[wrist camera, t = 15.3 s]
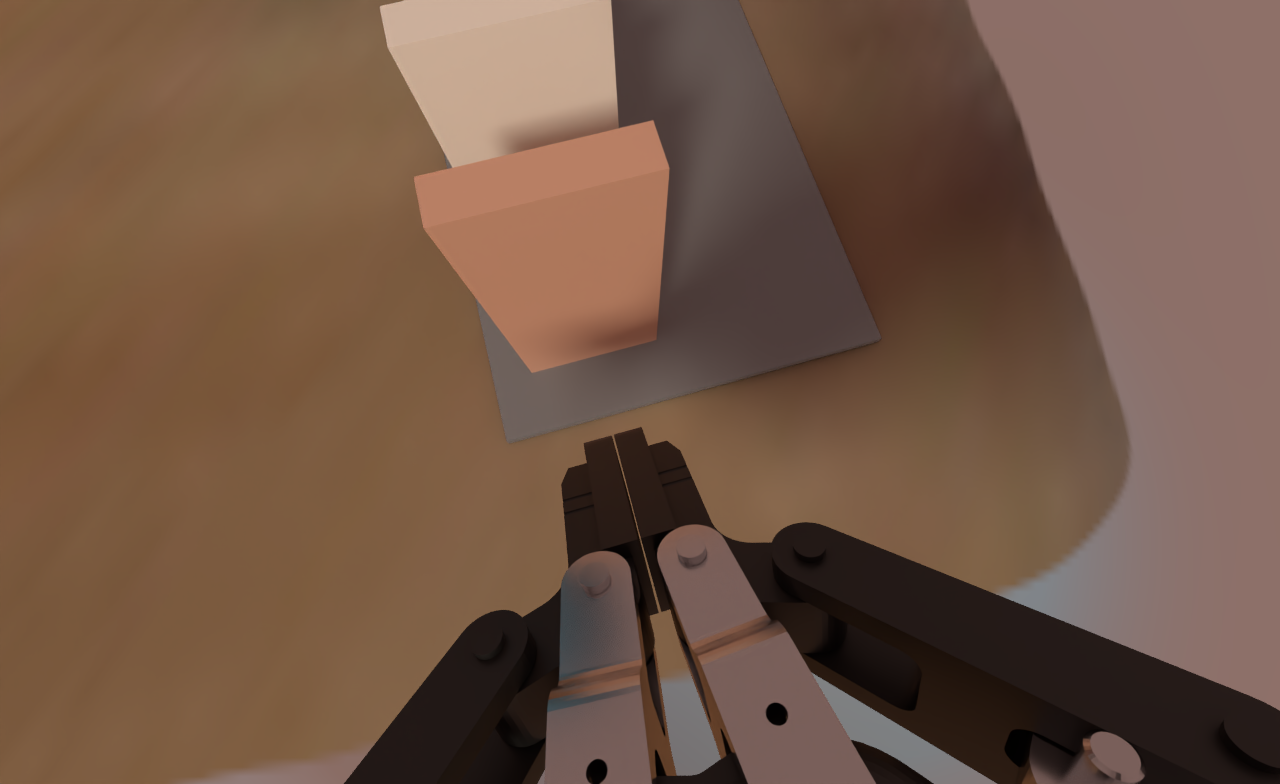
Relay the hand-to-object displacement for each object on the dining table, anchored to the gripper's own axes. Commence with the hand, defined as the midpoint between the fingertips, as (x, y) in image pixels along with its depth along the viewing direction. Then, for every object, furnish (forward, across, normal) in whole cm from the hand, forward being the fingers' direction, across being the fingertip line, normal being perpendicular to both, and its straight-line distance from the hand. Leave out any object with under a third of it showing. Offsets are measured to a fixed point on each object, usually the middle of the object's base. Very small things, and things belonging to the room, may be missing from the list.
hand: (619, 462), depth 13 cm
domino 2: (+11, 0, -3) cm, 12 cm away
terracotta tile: (+8, 0, 0) cm, 8 cm away
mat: (+14, -4, -6) cm, 16 cm away
